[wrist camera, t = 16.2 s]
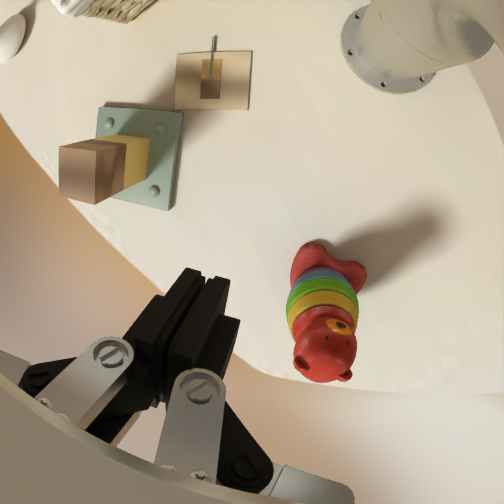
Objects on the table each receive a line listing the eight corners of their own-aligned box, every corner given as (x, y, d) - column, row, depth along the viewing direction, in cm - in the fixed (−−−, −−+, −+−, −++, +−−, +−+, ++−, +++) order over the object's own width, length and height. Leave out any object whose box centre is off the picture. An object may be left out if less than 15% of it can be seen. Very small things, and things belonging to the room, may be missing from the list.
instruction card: (178, 40, 31) (178, 39, 30) (252, 36, 29) (252, 35, 29) (174, 109, 35) (173, 109, 35) (247, 110, 34) (247, 110, 34)
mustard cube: (116, 134, 37) (90, 139, 32) (150, 138, 37) (126, 143, 31) (113, 173, 40) (88, 182, 34) (146, 179, 39) (123, 190, 34)
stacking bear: (371, 268, 40) (398, 356, 24) (336, 318, 45) (341, 410, 29) (305, 236, 40) (300, 318, 24) (275, 292, 45) (255, 382, 29)
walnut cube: (90, 139, 32) (59, 146, 26) (126, 143, 31) (96, 151, 26) (88, 182, 34) (59, 195, 29) (123, 190, 34) (94, 204, 29)
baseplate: (102, 106, 36) (97, 107, 35) (183, 113, 35) (179, 113, 34) (96, 191, 43) (92, 194, 42) (170, 209, 42) (166, 211, 41)
